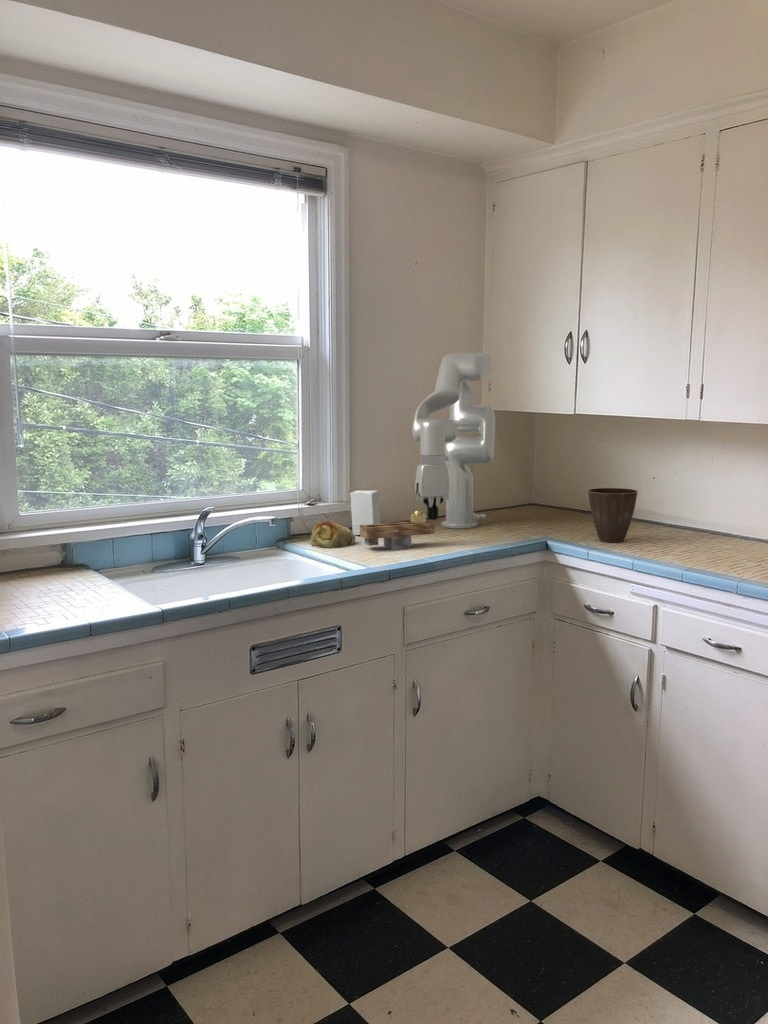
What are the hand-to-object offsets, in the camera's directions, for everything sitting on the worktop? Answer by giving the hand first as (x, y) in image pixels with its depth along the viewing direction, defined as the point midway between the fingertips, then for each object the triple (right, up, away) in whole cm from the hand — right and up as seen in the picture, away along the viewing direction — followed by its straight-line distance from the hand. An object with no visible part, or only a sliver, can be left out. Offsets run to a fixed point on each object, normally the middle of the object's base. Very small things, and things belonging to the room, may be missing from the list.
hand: (432, 519), depth 253 cm
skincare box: (-21, -6, +19) cm, 29 cm away
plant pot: (+57, -7, +4) cm, 57 cm away
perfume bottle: (-5, -2, -1) cm, 5 cm away
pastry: (-31, -8, +3) cm, 33 cm away
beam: (-11, -9, -3) cm, 14 cm away
